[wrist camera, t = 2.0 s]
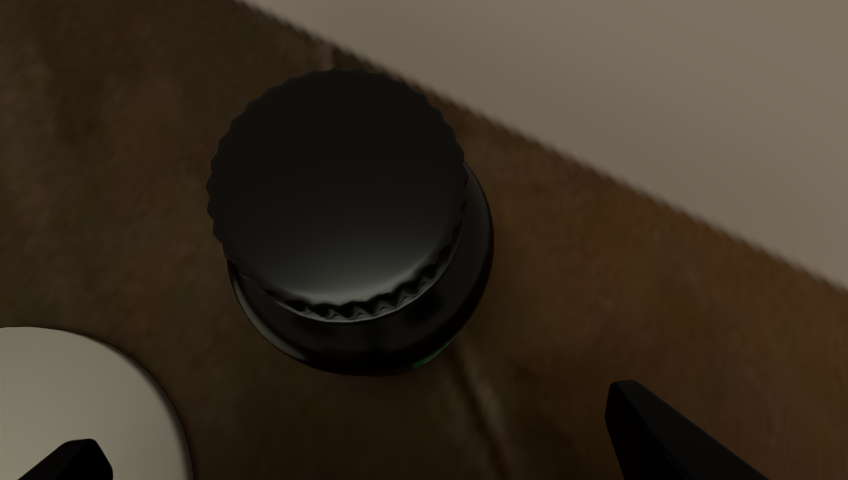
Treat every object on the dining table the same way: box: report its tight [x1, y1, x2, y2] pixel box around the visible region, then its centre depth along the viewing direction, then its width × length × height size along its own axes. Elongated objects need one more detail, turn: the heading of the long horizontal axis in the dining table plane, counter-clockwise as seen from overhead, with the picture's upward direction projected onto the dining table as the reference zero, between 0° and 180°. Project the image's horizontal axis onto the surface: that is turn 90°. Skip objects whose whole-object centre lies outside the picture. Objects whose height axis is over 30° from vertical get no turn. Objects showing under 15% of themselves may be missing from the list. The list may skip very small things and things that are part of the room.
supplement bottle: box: [206, 67, 494, 377], centre depth 15 cm, size 7×7×12 cm
